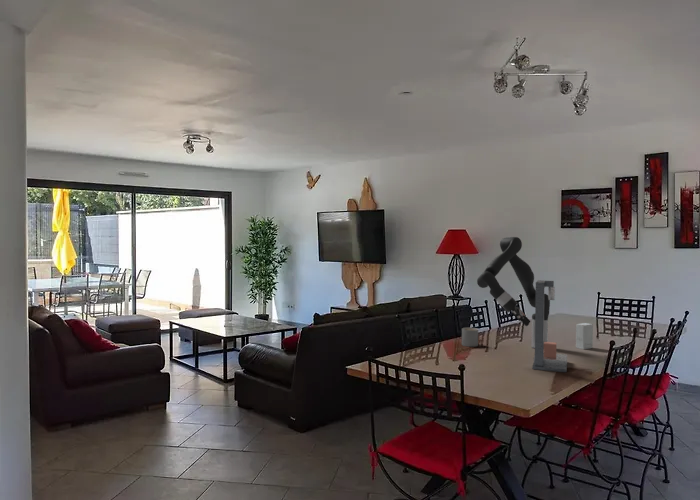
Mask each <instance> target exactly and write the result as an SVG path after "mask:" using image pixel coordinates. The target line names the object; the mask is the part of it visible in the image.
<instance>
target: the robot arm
mask: <svg viewBox="0 0 700 500" xmlns="http://www.w3.org/2000/svg"><path fill="white" fill-rule="evenodd" d="M499 246H500V249H501V252H502V253H500V254H498V255H497V256H496V257H494V258H493V259H492V260H491V261H490V262H489V263H488V265H487V266H486V268H485V269H484V270H483V272H482V273H481V274H480V275H479V276H478V278H477V280H476V283H477V285H478V287H480V288H481V289H485V288H489V289H490V290H489V294H490V295H491V296H492V297H493V298H494V300H495V301H496V302H497V303H498V304H499V305H500V306H501V307H502V308H503V309H504V311H505V312H507V313H510V312H511V314H512V315H513V316H514V318H516V319H517V320H518V321H519V322H521V323H522V324H523V325H524V326H525V327H528V326H529V325H530V323H531V348H532V349H533V348H534V349H535V313H533V314H532V315H531V320H530V319H529V318H528V317H527V315H526V313H524V311H523V310H521V309H520V307H519V306H517V305H518V303H519V302H518V301H516V299H515V298H514V297H513V296H512V295H511V294H509V292H507V291H506V290H505V289H504V288H503V287H502V286H501V285H500V283H499V281H498V280H497V278H496V276H497V275H498V274H499V273H500V272H501V270H502V269H503V268H504V266H505V265H506V264H507V263H508V262H509V264H510V266H511V268H512V269H513V271H514V274H515V275H516V277H517V279H518V281H519V283H520V284H521V286H522V289H523V291H524V293H525V296H526V298H527V301H528V303H529V305H530V306H531V307H532V308H535V300H536V287H535V286H534V282H535V274H534V272H533V270H532V268H531V266H530V265H529V264H528V263H527V262H526V261H524V259H522V258H521V257H520V256H519V255H517V253H519V252H520V251H521V250H522V247H523V243H522V240H521V239H520V238H519V237H517V236H511V237H504V238H502V239H500V241H499ZM550 306H551V300H548V294H547V293H544V342H549V341H548V339H549V338H548V337H549V336H548V335H549V334H548V333H549V329H548V328H549V316H550Z"/></svg>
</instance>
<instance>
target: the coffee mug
mask: <svg viewBox="0 0 700 500" xmlns="http://www.w3.org/2000/svg"><path fill="white" fill-rule="evenodd" d="M461 345H462V346H463V347H472V348H473V347H478V346H479V328H476V327H463V328H461Z"/></svg>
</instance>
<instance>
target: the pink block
mask: <svg viewBox="0 0 700 500" xmlns="http://www.w3.org/2000/svg"><path fill="white" fill-rule="evenodd" d="M556 354H557V342H552V341H548V342H544V357H551V358H556Z"/></svg>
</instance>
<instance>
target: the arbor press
mask: <svg viewBox="0 0 700 500" xmlns="http://www.w3.org/2000/svg"><path fill="white" fill-rule="evenodd" d="M554 284H555V282H554V280H539V279H538V280H536V282H535V290H536V300H535V307H534V308H535V312H534V314H535V348H534V356H533V363H532V367H531V368H532V370H538V371H547V372H549V371H550V372H557V373H567V371H568V370H567V368H568V354H561V353H556V358H551V357H544V294H545V288H548V292H547V293H548V294H547V295H548V300H550V301H555V296H556V295H555V293H556V291H555V290H556V289H555V285H554Z"/></svg>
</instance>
